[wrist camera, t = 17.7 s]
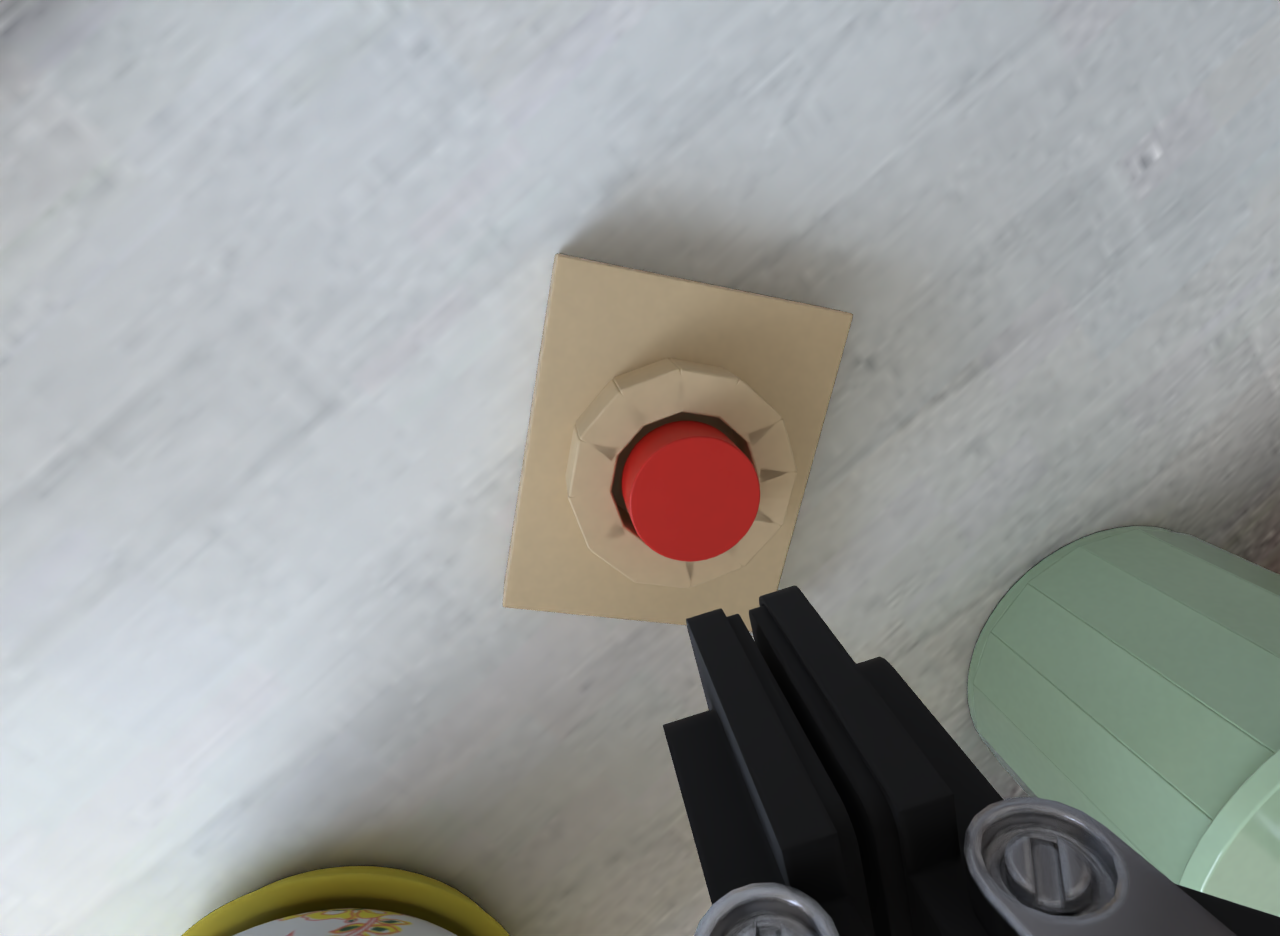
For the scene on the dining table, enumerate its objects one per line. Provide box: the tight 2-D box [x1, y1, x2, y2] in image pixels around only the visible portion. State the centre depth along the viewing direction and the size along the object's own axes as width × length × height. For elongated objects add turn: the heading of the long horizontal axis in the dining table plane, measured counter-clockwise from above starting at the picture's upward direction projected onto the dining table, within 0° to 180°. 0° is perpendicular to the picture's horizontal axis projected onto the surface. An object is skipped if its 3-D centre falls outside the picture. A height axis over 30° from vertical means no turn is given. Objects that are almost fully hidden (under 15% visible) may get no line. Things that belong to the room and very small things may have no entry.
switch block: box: [503, 253, 853, 632], centre depth 22 cm, size 11×9×4 cm
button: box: [622, 420, 760, 562], centre depth 19 cm, size 4×4×2 cm
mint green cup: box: [967, 526, 1280, 885], centre depth 24 cm, size 12×12×10 cm
